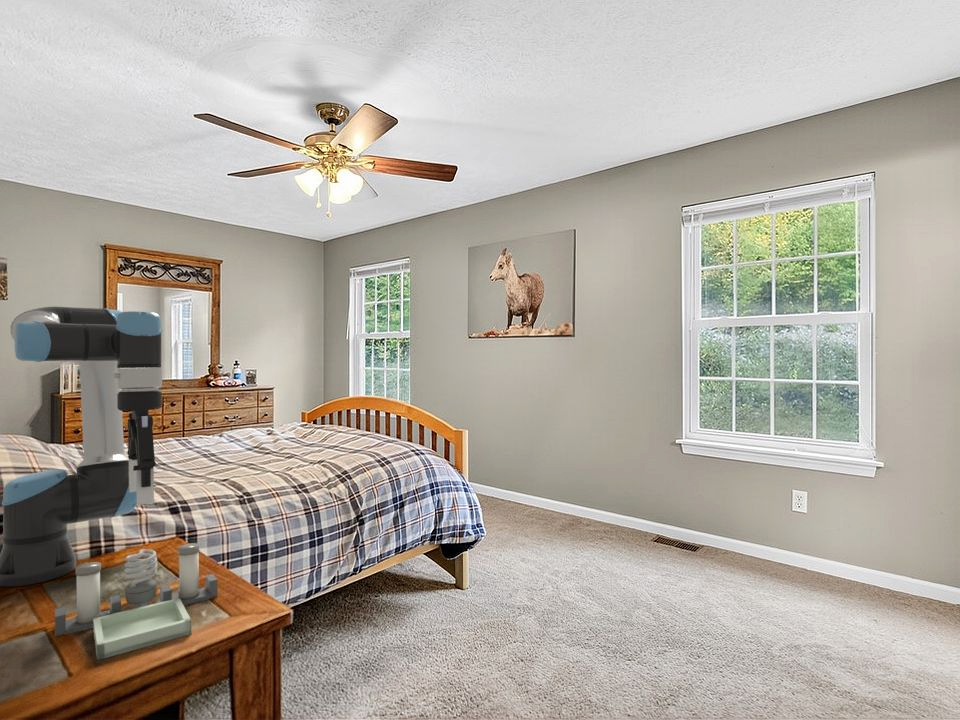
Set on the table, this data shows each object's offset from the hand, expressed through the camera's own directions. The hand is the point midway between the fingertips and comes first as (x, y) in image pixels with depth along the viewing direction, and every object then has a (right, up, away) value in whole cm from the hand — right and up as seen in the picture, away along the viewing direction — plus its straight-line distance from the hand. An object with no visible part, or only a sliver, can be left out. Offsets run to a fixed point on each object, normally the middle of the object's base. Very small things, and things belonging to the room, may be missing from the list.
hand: (140, 497), depth 109 cm
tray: (+6, -23, -9) cm, 25 cm away
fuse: (-7, -23, -5) cm, 24 cm away
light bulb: (0, -23, 0) cm, 23 cm away
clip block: (0, -23, 0) cm, 23 cm away
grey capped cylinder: (+7, -23, +5) cm, 24 cm away
